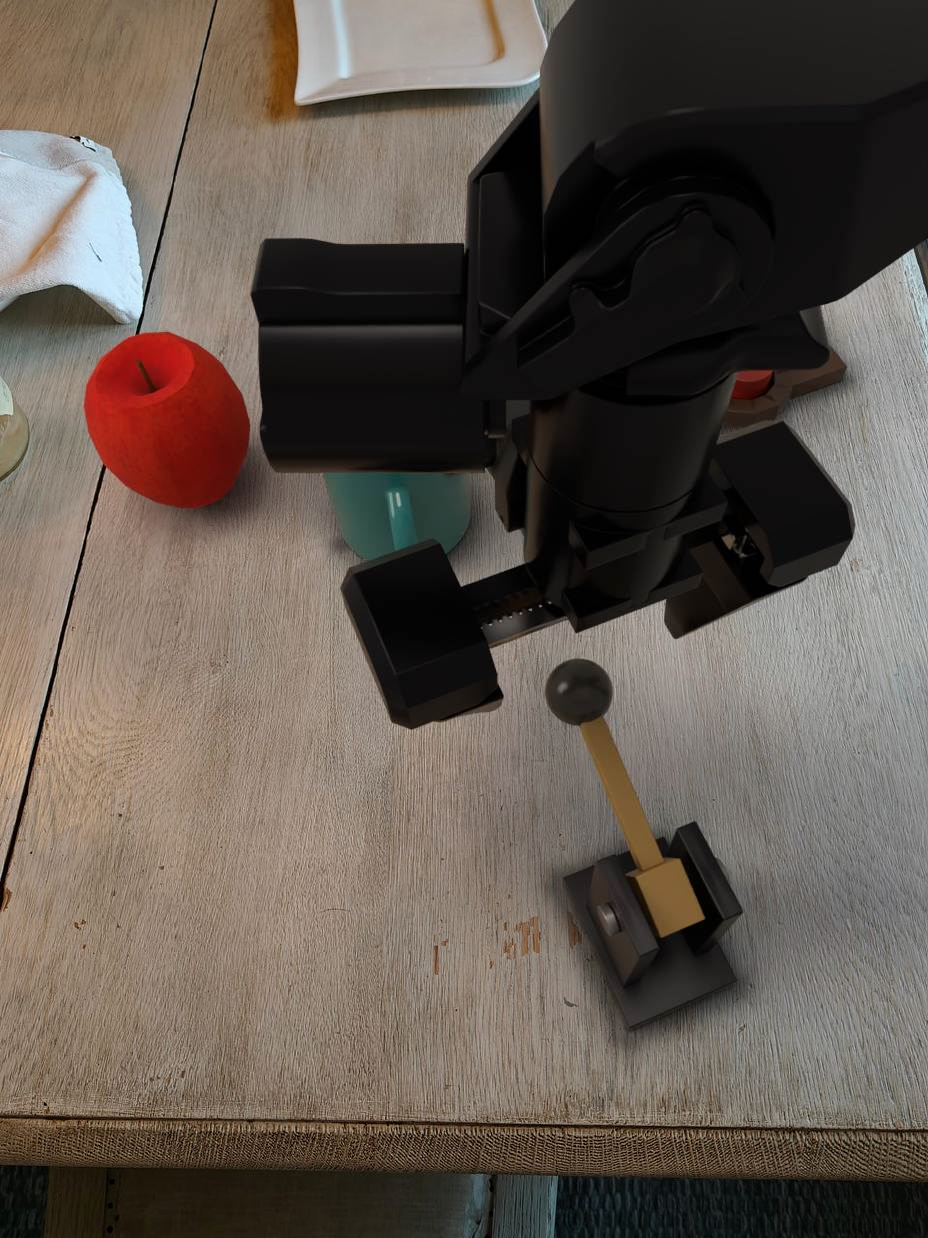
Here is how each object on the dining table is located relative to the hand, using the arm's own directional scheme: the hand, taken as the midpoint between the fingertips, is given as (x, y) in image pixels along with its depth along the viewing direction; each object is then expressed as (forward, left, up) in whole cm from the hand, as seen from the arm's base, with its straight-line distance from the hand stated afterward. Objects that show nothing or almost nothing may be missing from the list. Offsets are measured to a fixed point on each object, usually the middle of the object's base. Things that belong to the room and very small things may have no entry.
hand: (581, 664), depth 43 cm
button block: (-24, -22, -14) cm, 36 cm away
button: (-22, -20, -11) cm, 32 cm away
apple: (+15, -29, -14) cm, 36 cm away
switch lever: (0, +4, -6) cm, 7 cm away
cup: (+3, -19, -14) cm, 24 cm away
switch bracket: (0, +10, -14) cm, 17 cm away
